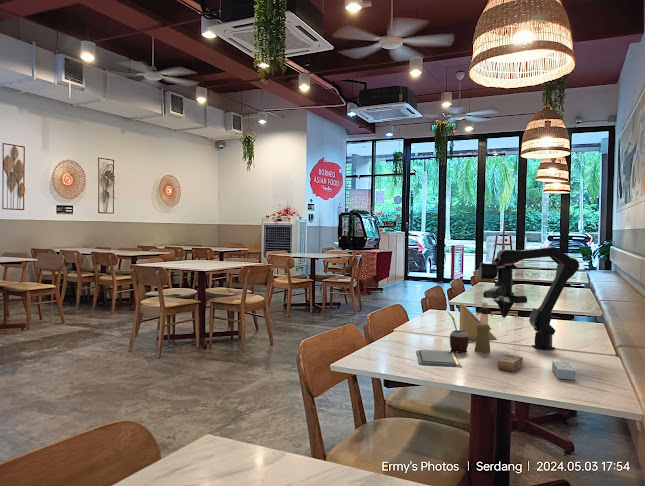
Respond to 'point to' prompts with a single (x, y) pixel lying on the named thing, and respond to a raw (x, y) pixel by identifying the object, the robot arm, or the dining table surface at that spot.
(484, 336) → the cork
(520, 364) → the brown rectangular box
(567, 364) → the grey rectangular block
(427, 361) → the grey notebook
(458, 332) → the mate gourd
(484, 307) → the grandmother figurine
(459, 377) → the dining table surface
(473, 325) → the sandwich container
